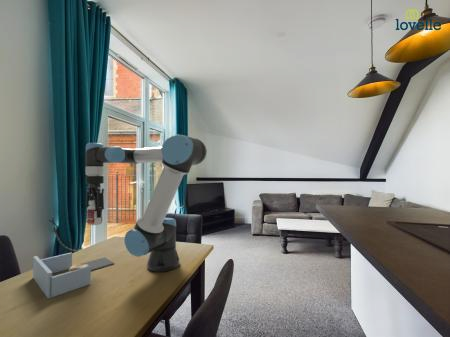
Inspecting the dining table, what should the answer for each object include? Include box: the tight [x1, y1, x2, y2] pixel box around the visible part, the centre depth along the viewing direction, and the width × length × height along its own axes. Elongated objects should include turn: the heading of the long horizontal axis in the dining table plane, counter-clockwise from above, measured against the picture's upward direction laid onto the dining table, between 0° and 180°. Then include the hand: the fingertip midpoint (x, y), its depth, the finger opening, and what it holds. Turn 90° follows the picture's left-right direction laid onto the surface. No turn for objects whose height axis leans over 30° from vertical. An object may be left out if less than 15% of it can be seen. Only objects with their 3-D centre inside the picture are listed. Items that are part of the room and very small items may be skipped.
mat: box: [80, 257, 115, 272], centre depth 112 cm, size 11×11×1 cm
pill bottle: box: [86, 200, 103, 226], centre depth 110 cm, size 6×6×11 cm
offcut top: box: [68, 264, 89, 272], centre depth 100 cm, size 6×4×2 cm, turn 99°
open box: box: [32, 252, 92, 299], centre depth 95 cm, size 24×14×9 cm, turn 50°
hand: (94, 223), depth 110 cm, fingers closed on pill bottle, 6 cm apart
